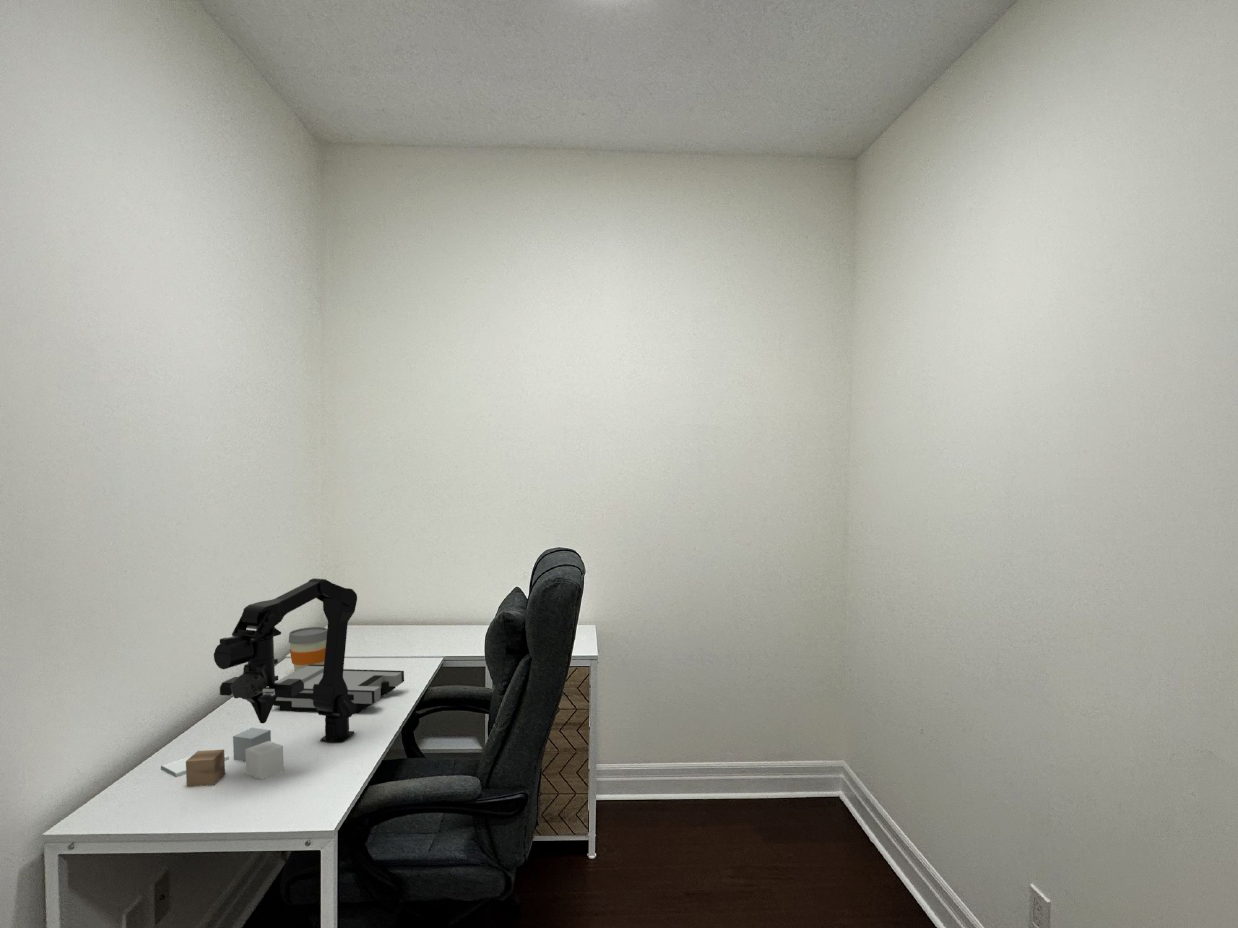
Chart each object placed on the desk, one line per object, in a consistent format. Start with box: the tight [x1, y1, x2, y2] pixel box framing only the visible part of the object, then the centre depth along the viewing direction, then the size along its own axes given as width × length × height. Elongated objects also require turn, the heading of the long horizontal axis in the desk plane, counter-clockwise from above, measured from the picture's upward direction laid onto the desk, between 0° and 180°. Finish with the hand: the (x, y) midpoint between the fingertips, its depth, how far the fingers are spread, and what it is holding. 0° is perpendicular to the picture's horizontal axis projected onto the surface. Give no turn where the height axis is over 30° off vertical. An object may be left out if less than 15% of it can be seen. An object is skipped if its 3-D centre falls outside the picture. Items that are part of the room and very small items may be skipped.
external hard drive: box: [160, 748, 230, 778], centre depth 189 cm, size 2×8×12 cm
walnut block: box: [185, 749, 226, 788], centre depth 179 cm, size 6×6×6 cm
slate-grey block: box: [232, 727, 272, 763], centre depth 193 cm, size 6×6×6 cm
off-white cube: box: [245, 740, 285, 780], centre depth 183 cm, size 6×6×6 cm
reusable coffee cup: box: [288, 626, 328, 672], centre depth 261 cm, size 13×12×15 cm
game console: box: [273, 664, 405, 715], centre depth 233 cm, size 21×32×8 cm, turn 80°
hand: (263, 722), depth 183 cm, fingers closed
